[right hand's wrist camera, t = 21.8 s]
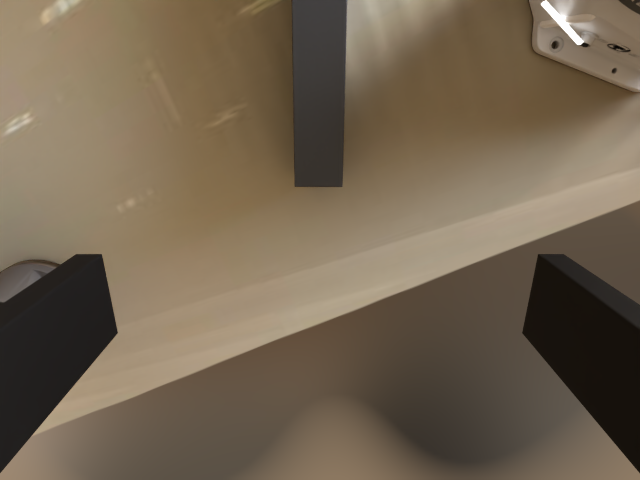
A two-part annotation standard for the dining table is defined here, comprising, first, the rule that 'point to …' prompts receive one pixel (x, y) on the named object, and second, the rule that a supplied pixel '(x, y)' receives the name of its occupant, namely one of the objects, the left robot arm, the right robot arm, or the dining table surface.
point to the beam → (319, 91)
